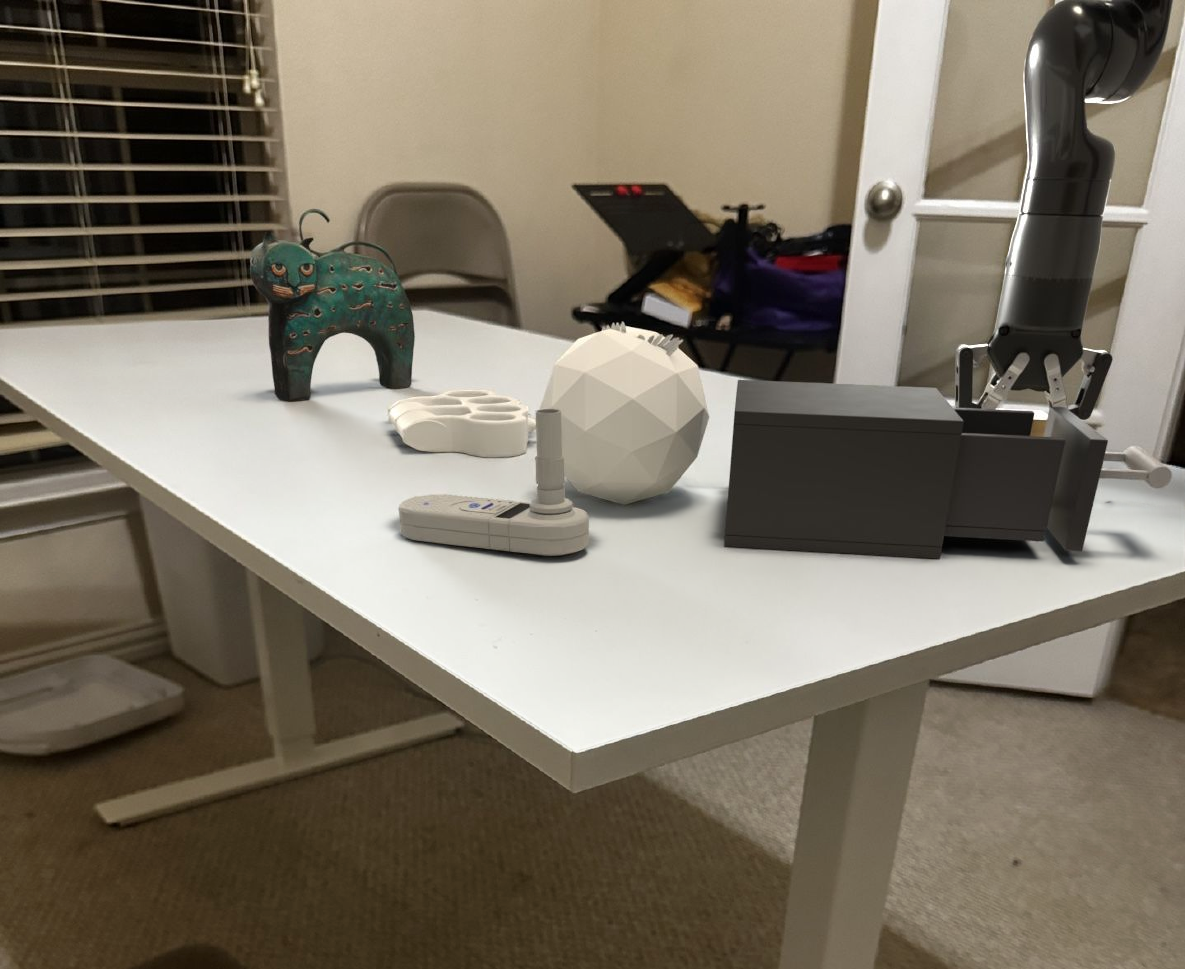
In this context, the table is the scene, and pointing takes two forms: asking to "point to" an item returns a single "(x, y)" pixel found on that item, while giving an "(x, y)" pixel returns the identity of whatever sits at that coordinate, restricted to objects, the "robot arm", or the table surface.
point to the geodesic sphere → (627, 413)
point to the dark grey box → (841, 468)
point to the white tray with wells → (464, 423)
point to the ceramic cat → (330, 309)
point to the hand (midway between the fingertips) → (1011, 461)
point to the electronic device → (507, 509)
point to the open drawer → (1034, 476)
